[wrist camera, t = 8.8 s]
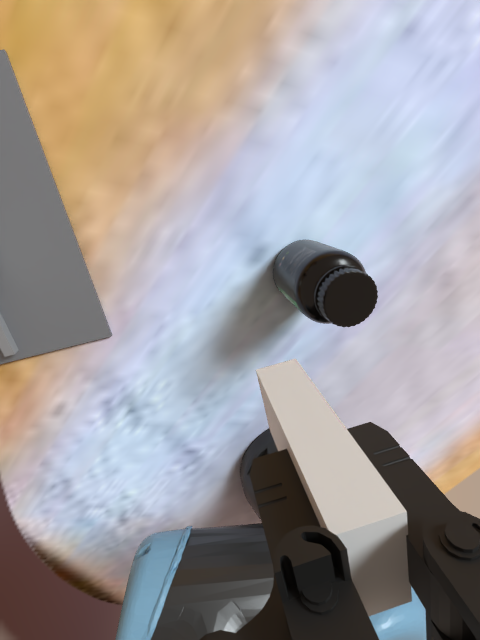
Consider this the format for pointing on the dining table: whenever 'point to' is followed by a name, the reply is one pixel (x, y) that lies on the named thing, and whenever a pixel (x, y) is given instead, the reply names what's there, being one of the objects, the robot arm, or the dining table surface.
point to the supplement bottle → (325, 283)
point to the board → (37, 245)
